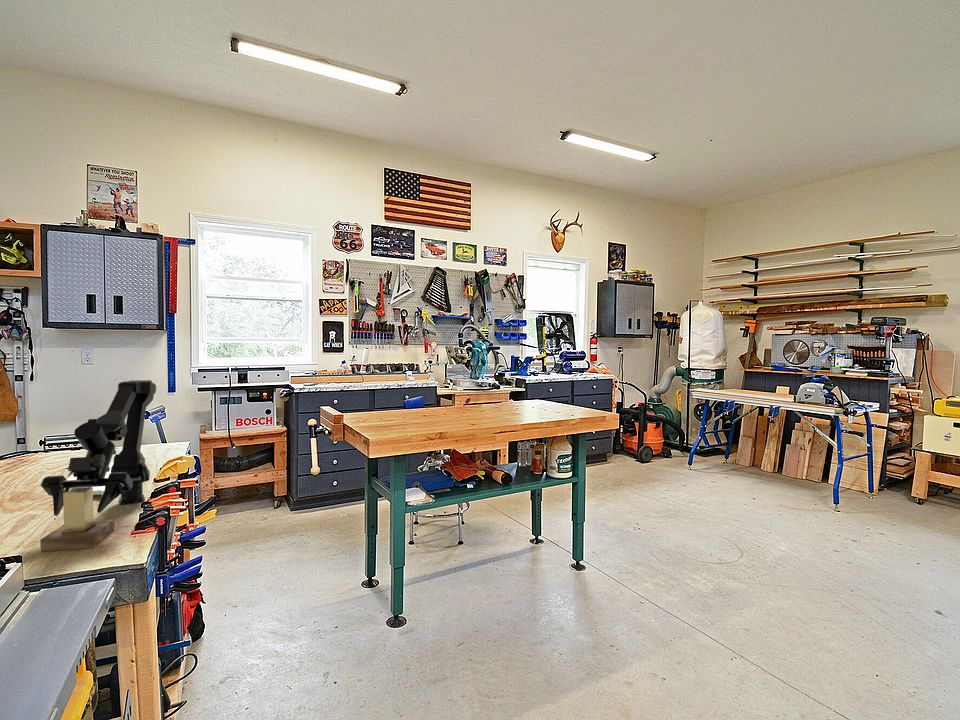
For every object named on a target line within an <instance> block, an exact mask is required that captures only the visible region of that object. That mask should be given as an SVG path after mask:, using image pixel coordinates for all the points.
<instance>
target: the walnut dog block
mask: <svg viewBox="0 0 960 720" xmlns="http://www.w3.org/2000/svg"><path fill="white" fill-rule="evenodd" d="M113 532H115V519H106V520H105V519H103V520H94V527H93V528H92V529H90V530H89V531H88V532H83V533H70V534H64V524H62V525H60V526H59V527H58V528H56V529H55V530H53V531H51V532H50V533H49V534H47V535H45V536H44V537H42V538H41V539H40V541H39V543H40V546H39V547H40V552H41V551H46V552H51V551H50V550H57V551H65V550H64V549H68V550H76V549H77V550H79V549H89V548H95V547H96V546H97V545H99V543H101V542H102V541H103V540H105V539H106V538H108V536H110V535H111V534H112V533H113Z"/></svg>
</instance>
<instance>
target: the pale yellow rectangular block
mask: <svg viewBox="0 0 960 720" xmlns="http://www.w3.org/2000/svg"><path fill="white" fill-rule="evenodd" d="M63 503H64V505H63V525H64V534H70V533H83V532H88V531H89V530H90V529H92V528H93V527H94V521H95V520H94V495H93V487H89V488H73V489H71V490H69V491H67V492H65V493H63Z"/></svg>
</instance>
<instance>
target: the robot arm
mask: <svg viewBox="0 0 960 720" xmlns="http://www.w3.org/2000/svg"><path fill="white" fill-rule="evenodd" d="M156 392H157V385H156V383H155V382H153V381H152V380H151V379H150V380H149V379H146V380H142V379H141V380H133V379H131V380H128V381H122V382H119V383H118V385H117V391H116V393H115V394H114V397H113V399H112V401H111V403H110V405H109V407H108V409H107V410H106V411H107V412H105V414H102V415H101V416H98V418H89V419H88V420H87V422H84V423H82V424H80V425H79V426H78V427H76V428H75V429H74V436H75V438H76V439H77V440H78V443H79V444H80V445H81V447H82V448H83V449H84V450H86V451H87V453H86V455H85V456H84V457H83V456H82V457H81V456H80V457H70V459H69V464H68V468H67V471H68V472H71V471H72V472H73V476H74V477H77V479H76V480H67V479H66V477H65V476H64V475H48V476H45V477H44V478H43V479H42V480H41V483H40V487H41V488H42V489H43V490H44V492H46V493H47V495H48V496H51V497H52V503H53V515H54V516H55V517H58V515H59V514H60V513H61V511H62V509H63V508H64V503H63V493H65V492H67V491H69V489H70V488H78V487H98V486H105V491H104V493H103V495H101V498H100V501H99V502H98V506H97V508H96V509H97V511H96V513H98V514H100V513H102V512H103V511H104V509H105V508H107V507H108V506H109V505H110V504H111V503H112V502H113V501H114V500H116V498H118V497H119V496H120V498H118V501H119V505H120V506H121V505H122V506H123V505H128V504H132V503H133V504H134V503H140V502H145V501H146V498H145V494H143V493H144V490H143V488H144V487H143V484H144V483H146V482H149V481H150V477H151V475H150V474H151V473H150V470H149V468H148V467H147V465H146V458H145V457H144V455H143V453H142V452H141V448H142V440H143V433H144V432H143V431H144V427H145V426H144V425H145V420H146V419H145V417H146V409H147V407H148V406H149V405H150V404H151V403H152V402H153V400H154V397H155V394H156ZM125 421H126V422H125ZM122 440H123V443H122V449H121V451H120V452H119V453H118V454H117V449H116V445H115V444H114V442H117V441H118V442H119V441H122ZM113 455H114V456H113ZM112 458H113V462H114V463H113V466H112V467H111V473H110V474H109V477H108V478H105V475H106V472H109V471H110V467H109V465H110V464H111V460H112Z"/></svg>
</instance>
